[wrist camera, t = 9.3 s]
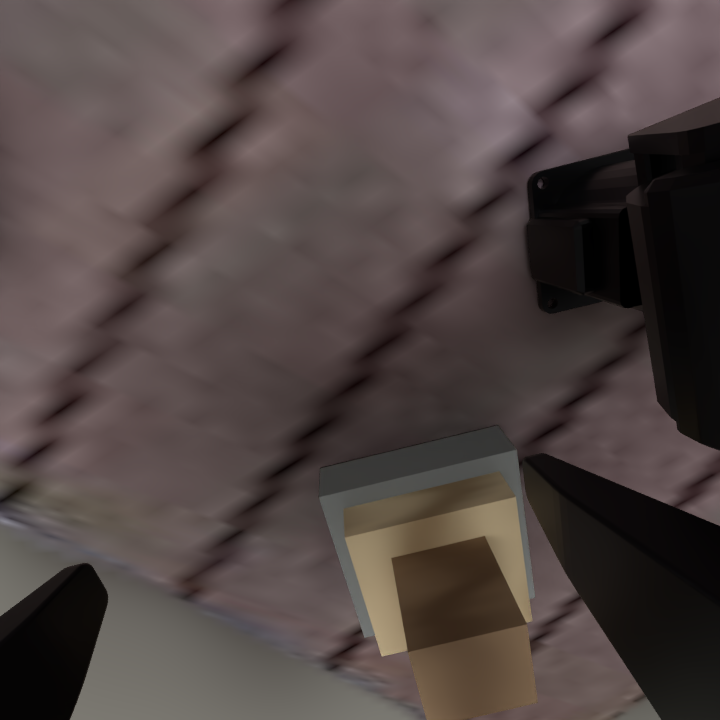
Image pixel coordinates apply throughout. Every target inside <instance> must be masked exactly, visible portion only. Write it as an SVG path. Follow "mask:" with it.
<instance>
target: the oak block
mask: <svg viewBox="0 0 720 720" xmlns="http://www.w3.org/2000/svg"><path fill="white" fill-rule="evenodd" d="M343 511H344V534H345V540H346V544H347V547H348V550H349V553H350V556H351V560H352V563H353V566H354V569H355V572H356V576H357V579H358V582H359V585H360V588H361V592H362V595H363V598H364V601H365V604H366V607H367V611H368V614H369V617H370V620H371V623H372V627H373V630H374V633H375V636H376V639H377V643H378V646H379V649H380V652H381V655H382V656H386V655H391V654H395V653H399V652H403V651H408V650H407V644H406V639H405V633H404V627H403V622H402V616H401V610H400V605H399V599H398V593H397V588H396V582H395V576H394V571H393V565H392V559H391V558H394V557H398V556H402V555H406V554H410V553H415V552H419V551H423V550H427V549H432V548H436V547H440V546H444V545H448V544H453V543H457V542H461V541H465V540H469V539H474V538H478V537H482V536H485V538H486V540H487V542H488V544H489V546H490V548H491V550H492V552H493V554H494V556H495V558H496V561H497V563H498V565H499V567H500V569H501V571H502V573H503V575H504V577H505V579H506V581H507V584H508V586H509V588H510V590H511V592H512V594H513V596H514V598H515V600H516V602H517V604H518V607H519V609H520V611H521V613H522V615H523V617H524V619H525V621H526V623H527V622H531V621H532V616H531V608H530V601H529V593H528V585H527V578H526V570H525V563H524V555H523V547H522V540H521V532H520V524H519V517H518V509H517V501H516V496H515V495H514V493H513V492H512V490H511V489H510V487H509V485H508V484H507V482H506V481H505V479H504V478H503V476H502V475H501V473H500V472H499V471H498V472H494V473H490V474H486V475H482V476H478V477H473V478H469V479H465V480H461V481H457V482H453V483H449V484H444V485H440V486H436V487H432V488H428V489H424V490H419V491H415V492H411V493H407V494H403V495H399V496H394V497H390V498H386V499H382V500H378V501H374V502H369V503H365V504H361V505H357V506H353V507H349V508H345V509H343Z"/></svg>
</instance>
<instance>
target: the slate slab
mask: <svg viewBox="0 0 720 720" xmlns="http://www.w3.org/2000/svg"><path fill="white" fill-rule="evenodd" d="M498 471H499V472H500V473H501V475H502V476H503V478H504V479H505V481H506V482H507V484H508V485H509V487H510V489H511V490H512V492H513V493H514V495H515V496H516V501H517V509H518V517H519V524H520V532H521V540H522V547H523V555H524V563H525V570H526V578H527V585H528V593H529V599H531V598H535V593H534V585H533V577H532V569H531V561H530V552H529V544H528V536H527V528H526V520H525V512H524V504H523V496H522V488H521V480H520V472H519V464H518V456H517V449H516V448H515V447H514V446H513V444H512V443H511V442H510V440H509V439H508V438H507V437H506V435H505V434H504V433H503V432H502V430H501V429H500V428H499V426H498V425H497V426H493V427H489V428H485V429H481V430H477V431H472V432H468V433H464V434H460V435H456V436H452V437H448V438H443V439H439V440H435V441H431V442H427V443H423V444H419V445H415V446H410V447H406V448H402V449H398V450H394V451H390V452H386V453H382V454H377V455H373V456H369V457H365V458H361V459H357V460H353V461H348V462H344V463H340V464H336V465H332V466H328V467H324V468H320V480H319V500H320V503H321V506H322V509H323V512H324V515H325V518H326V521H327V524H328V527H329V530H330V533H331V536H332V539H333V542H334V546H335V549H336V552H337V555H338V558H339V561H340V564H341V567H342V570H343V573H344V576H345V579H346V582H347V585H348V588H349V592H350V595H351V598H352V601H353V604H354V607H355V610H356V613H357V616H358V619H359V622H360V625H361V628H362V631H363V634H364V638H365V637H370V636H374V635H375V633H374V630H373V627H372V623H371V620H370V617H369V614H368V611H367V607H366V604H365V601H364V598H363V595H362V592H361V588H360V585H359V582H358V579H357V576H356V572H355V569H354V566H353V563H352V560H351V556H350V553H349V550H348V547H347V544H346V540H345V534H344V511H343V509H345V508H349V507H353V506H357V505H361V504H365V503H369V502H374V501H378V500H382V499H386V498H390V497H394V496H399V495H403V494H407V493H411V492H415V491H419V490H424V489H428V488H432V487H436V486H440V485H444V484H449V483H453V482H457V481H461V480H465V479H469V478H473V477H478V476H482V475H486V474H490V473H494V472H498Z"/></svg>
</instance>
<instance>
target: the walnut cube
mask: <svg viewBox="0 0 720 720" xmlns="http://www.w3.org/2000/svg"><path fill="white" fill-rule="evenodd" d="M391 559H392V565H393V571H394V576H395V582H396V588H397V593H398V599H399V605H400V610H401V616H402V622H403V627H404V633H405V639H406V644H407V650H408V654H409V658H410V661H411V665H412V669H413V672H414V676H415V679H416V683H417V686H418V690H419V694H420V697H421V701H422V704H423V708H424V711H425V715H426V719H427V720H465V719H469V718H474V717H478V716H482V715H487V714H491V713H495V712H500V711H504V710H508V709H513V708H517V707H521V706H526V705H530V704H534V703H538V702H537V694H536V687H535V680H534V672H533V665H532V657H531V650H530V643H529V635H528V628H527V623H526V621H525V619H524V617H523V615H522V613H521V611H520V609H519V607H518V604H517V602H516V600H515V598H514V596H513V594H512V592H511V590H510V588H509V586H508V584H507V581H506V579H505V577H504V575H503V573H502V571H501V569H500V567H499V565H498V563H497V561H496V558H495V556H494V554H493V552H492V550H491V548H490V546H489V544H488V542H487V540H486V538H485V536H482V537H478V538H474V539H469V540H465V541H461V542H457V543H453V544H448V545H444V546H440V547H436V548H432V549H427V550H423V551H419V552H415V553H410V554H406V555H402V556H398V557H394V558H391Z"/></svg>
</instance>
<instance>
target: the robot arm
mask: <svg viewBox="0 0 720 720" xmlns="http://www.w3.org/2000/svg"><path fill="white" fill-rule="evenodd" d="M628 142H629V149H626V150H622V151H618V152H614V153H610V154H606V155H602V156H598V157H594V158H590V159H586V160H582V161H578V162H574V163H570V164H566V165H562V166H559V167H555V168H551V169H547V170H543V171H539V172H536V173H534V174H533V175H532V176H531V177H530V179H529V181H528V192H529V204H530V215H531V220H530V221H529V223H528V225H527V231H528V242H529V253H530V263H531V274H532V277H533V278H534V279H535V280H536V281H537V292H538V303H539V307H540V309H541V310H542V311H544V312H547V313H549V314H551V313H557V312H561V311H565V310H569V309H573V308H577V307H582V306H586V305H590V304H594V303H598V302H602V301H605V302H608V303H611V304H614V305H617V306H620V307H623V308H634V309H637V310H640V311H643V313H644V319H645V325H646V332H647V338H648V344H649V351H650V357H651V364H652V370H653V376H654V383H655V389H656V395H657V402H658V403H659V404H660V405H661V406H662V407H663V409H664V410H665V411H666V412H667V413H668V415H669V416H670V417H671V418H672V419H674V420H675V421H676V423H677V430H678V431H679V432H680V433H682V434H684V435H686V436H688V437H690V438H691V439H693V440H695V441H697V442H699V443H701V444H703V445H706V446H708V447H711V448H714V449H717V450H720V97H719V98H717V99H715V100H712V101H710V102H707V103H705V104H702V105H700V106H698V107H695V108H693V109H690V110H688V111H685V112H683V113H681V114H678V115H676V116H673V117H671V118H668V119H666V120H664V121H661V122H659V123H656V124H654V125H652V126H649V127H647V128H644V129H642V130H639V131H637V132H635V133H632V134H630V135H628ZM540 178H543V179H544V182H545V183H544V186H543V188H542V189H540V188H539V187H538V185H537V183H538V180H539V179H540ZM552 298H553V300H554V302H553V304H552V306H550V307H548V305H547V304H548V301H549V300H550V299H552ZM523 473H524V481H525V490H526V495H527V498H528V501H529V503H530V505H531V507H532V509H533V511H534V513H535V515H536V517H537V519H538V521H539V523H540V524H541V526H542V528H543V530H544V532H545V534H546V536H547V538H548V540H549V542H550V544H551V546H552V548H553V550H554V552H555V554H556V556H557V558H558V560H559V561H560V563H561V565H562V567H563V569H564V571H565V573H566V574H567V576H568V578H569V579H570V581H571V582H572V584H573V586H574V587H575V589H576V590H577V592H578V593H579V595H580V596H581V598H582V599H583V601H584V602H585V604H586V605H587V607H588V608H589V610H590V612H591V613H592V615H593V616H594V618H595V619H596V621H597V622H598V624H599V625H600V627H601V628H602V630H603V631H604V633H605V634H606V636H607V638H608V639H609V641H610V642H611V644H612V645H613V647H614V648H615V650H616V651H617V653H618V654H619V656H620V657H621V659H622V660H623V662H624V663H625V665H626V667H627V668H628V670H629V671H630V673H631V674H632V676H633V677H634V679H635V680H636V682H637V683H638V685H639V686H640V688H641V689H642V691H643V692H644V694H645V696H646V697H647V699H648V700H649V702H650V703H651V705H652V706H653V708H654V709H655V711H656V712H657V714H658V715H659V717H660V718H661V720H720V526H718V525H716V524H714V523H711V522H709V521H706V520H704V519H701V518H699V517H697V516H694V515H692V514H689V513H687V512H685V511H682V510H680V509H677V508H675V507H673V506H670V505H668V504H665V503H663V502H661V501H658V500H656V499H653V498H651V497H649V496H646V495H644V494H641V493H639V492H636V491H634V490H632V489H629V488H627V487H624V486H622V485H620V484H617V483H615V482H612V481H610V480H608V479H605V478H603V477H600V476H598V475H596V474H593V473H591V472H588V471H586V470H584V469H581V468H579V467H576V466H574V465H571V464H569V463H567V462H564V461H562V460H559V459H557V458H555V457H552V456H550V455H547V454H544V453H540V454H536V455H532V456H527V457H525V458H524V459H523ZM107 603H108V594H107V591H106V589H105V587H104V585H103V584H102V582H101V580H100V578H99V577H98V575H97V573H96V572H95V570H94V568H93V567H92V566H91V565H90V564H88V563H82V564H78V565H74V566H70V567H67V568H64V569H63V570H62V571H60V572H59V573H58V574H56V575H55V576H54V577H52V578H51V579H50V580H48V581H47V582H46V583H44V584H43V585H42V586H40V587H39V588H38V589H36V590H35V591H34V592H32V593H31V594H30V595H28V596H27V597H26V598H24V599H23V600H22V601H20V602H19V603H18V604H16V605H15V606H14V607H12V608H11V609H10V610H8V611H7V612H6V613H4V614H3V615H2V616H0V720H70V718H71V716H72V713H73V711H74V708H75V705H76V703H77V700H78V698H79V695H80V692H81V689H82V686H83V683H84V680H85V677H86V674H87V670H88V668H89V664H90V661H91V658H92V654H93V651H94V648H95V644H96V641H97V637H98V634H99V631H100V628H101V624H102V621H103V618H104V614H105V611H106V608H107Z"/></svg>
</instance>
